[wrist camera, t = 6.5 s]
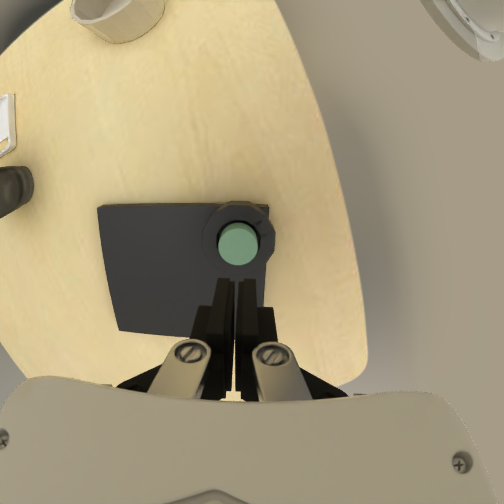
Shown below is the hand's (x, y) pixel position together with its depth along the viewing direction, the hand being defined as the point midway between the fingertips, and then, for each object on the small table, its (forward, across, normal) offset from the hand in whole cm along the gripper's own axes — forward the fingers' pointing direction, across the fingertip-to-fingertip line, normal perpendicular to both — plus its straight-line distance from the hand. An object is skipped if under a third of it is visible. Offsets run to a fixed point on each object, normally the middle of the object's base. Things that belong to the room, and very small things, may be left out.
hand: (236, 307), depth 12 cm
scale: (+13, +6, +5) cm, 15 cm away
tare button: (+11, 0, +1) cm, 11 cm away
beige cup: (+14, +12, -22) cm, 28 cm away
